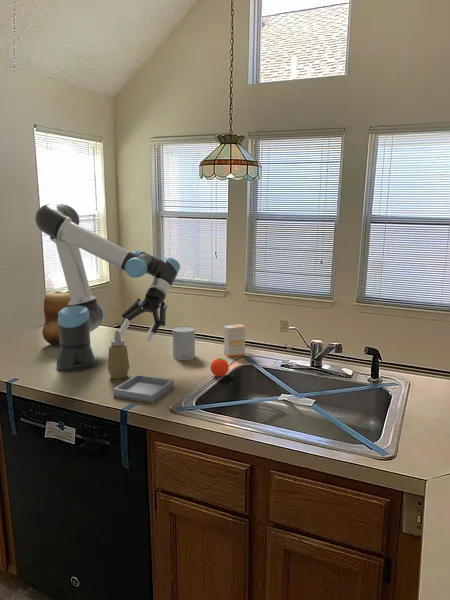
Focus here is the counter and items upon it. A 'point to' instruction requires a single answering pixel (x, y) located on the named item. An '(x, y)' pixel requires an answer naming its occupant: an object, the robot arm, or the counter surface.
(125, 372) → the squeeze bottle
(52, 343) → the butternut squash
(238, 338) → the supplement box
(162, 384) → the tray
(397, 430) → the counter surface
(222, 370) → the clementine
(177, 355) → the grey cylinder
